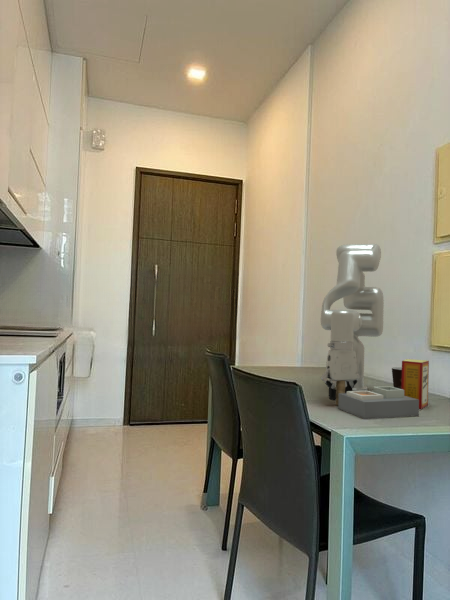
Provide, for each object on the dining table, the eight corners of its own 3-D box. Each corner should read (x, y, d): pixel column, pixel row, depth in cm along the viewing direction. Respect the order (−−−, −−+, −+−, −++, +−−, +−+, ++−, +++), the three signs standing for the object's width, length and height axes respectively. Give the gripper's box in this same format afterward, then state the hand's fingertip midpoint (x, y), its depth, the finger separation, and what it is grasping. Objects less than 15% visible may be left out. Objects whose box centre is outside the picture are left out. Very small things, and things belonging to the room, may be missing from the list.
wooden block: (334, 404, 154) (334, 375, 154) (341, 403, 155) (342, 374, 155) (338, 406, 151) (339, 376, 151) (346, 405, 152) (347, 376, 152)
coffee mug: (389, 394, 176) (390, 368, 176) (392, 391, 184) (393, 366, 184) (421, 397, 171) (422, 371, 171) (423, 394, 178) (423, 369, 179)
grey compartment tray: (338, 408, 147) (338, 385, 147) (388, 406, 153) (389, 384, 153) (364, 418, 133) (365, 393, 134) (418, 415, 140) (419, 391, 140)
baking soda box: (408, 402, 161) (409, 357, 161) (427, 405, 157) (428, 359, 157) (400, 406, 153) (401, 359, 154) (421, 409, 149) (422, 361, 150)
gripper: (325, 347, 147) (324, 402, 146) (369, 347, 152) (368, 400, 152) (313, 345, 154) (312, 398, 153) (356, 345, 159) (355, 396, 159)
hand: (340, 399), depth 153 cm, fingers open, 5 cm apart
